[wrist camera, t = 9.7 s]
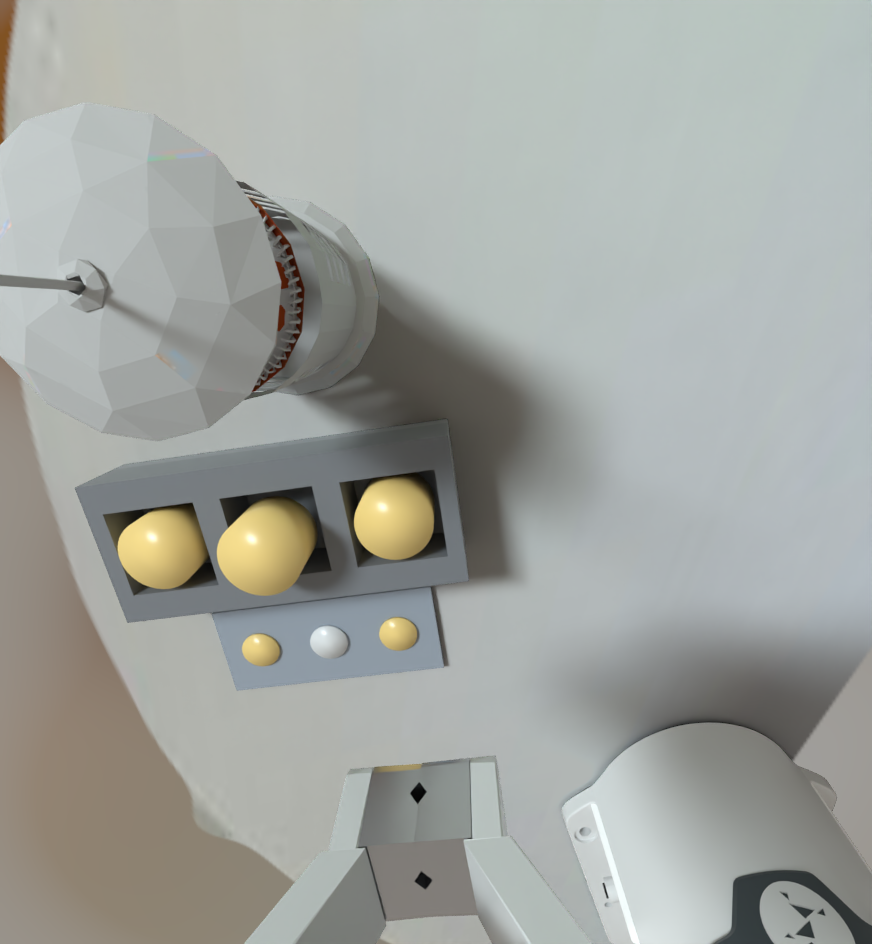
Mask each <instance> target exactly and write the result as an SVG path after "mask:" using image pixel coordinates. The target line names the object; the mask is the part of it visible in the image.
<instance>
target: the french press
mask: <svg viewBox="0 0 872 944" xmlns="http://www.w3.org/2000/svg"><path fill="white" fill-rule="evenodd" d="M241 188H243V189H248V190H252V191H256V192H258V193H260V192H259V191H257V190H256V189H254V188H252V187H251V186H249V185H247V184H246V183H243V182H239V181H235V179H234V178H233V177H232V175H231V174H230V173H229V171H228V170H227V169H226V167H225V166H224V165H223V163H222V162H221V160H220V159H219V158H218V156H217V155H215V154H214V153H212V152H211V151H209V150H208V149H206V148H205V147H203V146H202V145H200V144H199V143H197V142H196V141H194V140H193V139H191V138H190V137H188V136H187V135H185V134H184V133H182V132H181V131H179V130H177V129H176V128H174V127H173V126H171V125H170V124H168V123H167V122H165V121H164V120H162V119H161V118H159V117H158V116H156V115H155V114H149V113H144V112H138V111H133V110H127V109H122V108H117V107H111V106H106V105H100V104H95V103H90V102H84V103H81V104H77V105H74V106H71V107H67V108H64V109H61V110H57V111H54V112H50V113H47V114H44V115H40V116H37V117H34V118H30V119H27V120H24V121H23V122H22V123H21V124H20V125H19V126H18V128H17V129H16V130H15V131H14V132H13V133H12V134H11V135H10V136H9V137H8V138H7V139H6V140H5V141H4V142H3V143H2V144H1V145H0V355H1V357H2V358H3V359H4V360H5V361H6V362H7V363H8V364H9V365H10V366H11V367H12V368H13V369H14V370H15V371H16V372H17V373H18V374H19V375H20V376H21V378H22V379H23V380H24V381H25V382H26V383H27V384H28V385H29V386H30V387H31V388H32V389H33V390H34V391H35V392H36V393H37V394H38V395H39V396H40V397H41V398H42V399H43V400H44V401H45V402H46V403H47V404H48V405H50V406H52V407H54V408H56V409H58V410H60V411H62V412H63V413H65V414H67V415H69V416H71V417H73V418H75V419H76V420H78V421H80V422H82V423H84V424H86V425H88V426H90V427H91V428H93V429H95V430H97V431H99V432H101V433H106V434H113V435H119V436H126V437H132V438H139V439H146V440H152V441H161V440H165V439H169V438H173V437H176V436H180V435H184V434H188V433H191V432H195V431H199V430H203V429H207V428H209V427H210V426H212V425H213V424H214V423H215V422H217V421H218V420H219V419H220V418H222V417H223V416H224V415H225V414H227V413H228V412H229V411H230V410H232V409H233V408H234V407H235V406H237V405H238V404H239V403H240V402H242V401H243V400H246V399H250V398H254V397H258V396H262V395H266V394H269V393H273V392H281V393H287V394H294V395H301V394H305V393H309V392H313V391H316V390H320V389H324V388H328V387H332V386H333V385H334V384H335V383H337V382H338V381H339V380H340V379H342V378H343V377H344V376H346V375H347V374H348V373H349V372H351V371H352V370H353V369H355V368H356V367H357V366H358V365H359V363H360V361H361V359H362V358H363V356H364V354H365V352H366V350H367V348H368V347H369V345H370V343H371V341H372V339H373V337H374V335H375V331H376V321H377V312H378V303H379V294H378V290H377V287H376V283H375V279H374V275H373V272H372V268H371V264H370V260H369V257H368V256H367V255H366V253H365V252H364V250H363V249H362V248H361V246H360V245H359V243H358V242H357V241H356V239H355V238H354V237H353V235H352V234H351V232H350V231H349V230H348V228H347V227H346V225H345V224H343V223H342V222H340V221H339V220H337V219H336V218H334V217H332V216H331V215H329V214H328V213H326V212H325V211H323V210H322V209H320V208H318V207H317V206H315V205H314V204H312V203H311V202H305V201H299V200H293V199H287V198H281V197H274V196H270V197H266V196H265V195H263V194H262V193H260V194H258V193H254V192H250V191H245V190H242V189H241ZM246 194H249V195H253V196H258V197H262V198H263V199H259V198H255V197H251V196H246ZM253 200H254V201H253ZM265 390H268V391H265ZM254 391H264V392H254Z"/></svg>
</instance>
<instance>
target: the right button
mask: <svg viewBox="0 0 872 944" xmlns="http://www.w3.org/2000/svg"><path fill="white" fill-rule="evenodd" d="M434 508H435V499H434V494H433V491H432V488H431V487H430V485H429V483H428V482H427V481H426V480H425V479H424V478H423V477H422V476H421V475H419V474H418V473H416V472H412V473H405V474H398V475H390V476H383V477H375V478H372V480H371V481H370V482H369V483H368V485H367V487H366V489H365V491H364V494H363V496H362V498H361V500H360V502H359V505H358V507H357V509H356V512H355V516H354V528H355V532H356V535H357V537H358V539H359V541H360V542H361V544H362V545H363V546H364V547H365V548H366V549H367V550H368V551H370V552H371V553H373V554H374V555H376V556H379V557H381V558H384V559H390V560H401V559H406V558H409V557H412V556H414V555H416V554H417V553H419V552H420V551H421V550H423V549H424V547H425V546H426V545H427V544H428V542H429V541H430V539H431V536H432V533H433V529H434Z"/></svg>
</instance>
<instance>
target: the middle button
mask: <svg viewBox="0 0 872 944" xmlns="http://www.w3.org/2000/svg"><path fill="white" fill-rule="evenodd" d="M317 538H318V531H317V526H316V522H315V520H314V518H313V516H312V515H311V513H310V512H309V511H308V510H307V509H306V508H305V507H304V506H303V505H301V504H300V503H298V502H297V501H295V500H293V499H290V498H287V497H282V496H270V497H265V498H262V499H260V500H258V501H256V502H255V503H253V504H252V505H251V506H250V507H249V508H248V509H247V510H246V511H245V512H244V513H243V514H242V515H241V516H240V517H239V518H238V519H237V520H236V521H235V522H234V523H233V524H232V525H231V526H230V527H229V528H228V529H227V530H226V531H225V532H224V533H223V535H222V536H221V538H220V540H219V543H218V547H217V560H218V564H219V566H220V569H221V571H222V572H223V574H224V575H225V577H226V578H227V579H228V580H229V581H230V582H231V583H232V584H233V585H234V586H236V587H237V588H239V589H241V590H242V591H245V592H247V593H250V594H254V595H259V596H269V595H275V594H278V593H281V592H283V591H285V590H287V589H288V588H290V587H291V586H292V585H293V584H294V583H295V582H296V580H297V579H298V577H299V575H300V573H301V572H302V570H303V568H304V566H305V564H306V563H307V561H308V559H309V557H310V555H311V554H312V552H313V550H314V548H315V546H316V543H317Z"/></svg>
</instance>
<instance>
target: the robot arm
mask: <svg viewBox="0 0 872 944" xmlns="http://www.w3.org/2000/svg"><path fill="white" fill-rule="evenodd" d="M836 799H837V797H836V794H835V792H834V791H833V789H832V788H831V786H830V784H829V783H828V782H827V780H826V779H825V778H823V777H822V776H820V775H818V774H816V773H814V772H812V771H809V770H807V769H804V768H802V767H799V766H797V765H796V764H795V763H794V762H793V761H792V760H791V759H790V758H789V757H788V756H787V755H786V753H785V752H784V751H783V750H782V749H781V748H780V747H779V746H778V745H777V744H776V743H774V742H773V741H772V740H770V739H769V738H767V737H766V736H764V735H762V734H760V733H758V732H756V731H753V730H751V729H748V728H745V727H741V726H737V725H732V724H725V723H694V724H686V725H681V726H677V727H672V728H669V729H666V730H663V731H660V732H657V733H655V734H652V735H650V736H648V737H646V738H644V739H642V740H640V741H638V742H637V743H635V744H633V745H632V746H630V747H629V748H627V749H626V750H625V751H624V752H622V753H621V754H620V755H619V756H618V757H617V758H616V759H615V760H614V761H613V762H612V763H611V764H610V765H609V766H608V767H607V769H606V770H605V771H604V773H603V774H602V775H601V776H600V778H599V779H598V780H597V781H596V782H595V783H594V784H593V785H592V786H591V787H589V788H587V789H586V790H584V791H582V792H581V793H579V794H577V795H576V796H574V797H573V798H571V799H570V800H569V801H567V802H566V803H565V804H564V806H563V808H562V816H563V819H564V822H565V824H566V827H567V830H568V833H569V835H570V838H571V841H572V843H573V846H574V849H575V852H576V854H577V857H578V860H579V862H580V865H581V868H582V870H583V873H584V876H585V878H586V881H587V884H588V887H589V889H590V892H591V895H592V897H593V900H594V903H595V905H596V908H597V911H598V913H599V916H600V919H601V922H602V924H603V927H604V930H605V932H606V935H607V937H608V939H609V941H610V942H611V943H613V944H872V871H871V869H870V867H869V866H868V865H867V863H866V862H865V860H864V859H863V857H862V856H861V854H860V853H859V851H858V850H857V848H856V847H855V845H854V844H853V843H852V841H851V839H850V838H849V836H848V835H847V833H846V832H845V831H844V829H843V828H842V826H841V825H840V823H839V822H838V820H837V819H836V817H835V816H834V815H833V813H832V811H833V808H834V806H835V803H836ZM464 915H478V917H479V919H480V921H481V923H482V925H483V927H484V929H485V931H486V933H487V935H488V936H489V938H490V940H491V942H492V944H593V943H592V942H591V941H590V940H589V938H588V937H587V936H586V934H585V933H584V932H583V930H582V929H581V928H580V926H579V925H578V924H577V922H576V921H575V920H574V918H573V917H572V916H571V914H570V913H569V912H568V910H567V909H566V908H565V906H564V905H563V904H562V902H561V901H560V900H559V899H558V897H557V896H556V895H555V893H554V892H553V891H552V889H551V888H550V887H549V885H548V884H547V883H546V881H545V880H544V879H543V877H542V876H541V875H540V873H539V872H538V871H537V869H536V868H535V867H534V865H533V864H532V863H531V861H530V860H529V859H528V858H527V856H526V855H525V854H524V852H523V851H522V850H521V848H520V847H519V846H518V844H517V843H516V842H515V840H514V839H513V838H512V836H508V832H507V825H506V818H505V811H504V804H503V797H502V791H501V784H500V778H499V771H498V765H497V759H496V756H486V757H477V758H471V759H470V758H465V759H456V760H447V761H437V762H428V763H422V764H412V765H397V766H382V767H373V768H359V769H350V771H349V773H348V774H347V776H346V780H345V784H344V788H343V792H342V796H341V800H340V804H339V808H338V813H337V817H336V821H335V825H334V829H333V833H332V837H331V841H330V846H329V850H328V851H321V852H320V853H319V854H318V855H317V857H316V858H315V859H314V860H313V861H312V863H311V864H310V865H309V866H308V867H307V869H306V870H305V871H304V872H303V873H302V875H301V876H300V877H299V878H298V879H297V881H296V882H295V883H294V884H293V885H292V887H291V888H290V889H289V890H288V892H287V893H286V894H285V895H284V896H283V897H282V899H281V900H280V901H279V902H278V904H277V905H276V906H275V907H274V908H273V909H272V911H271V912H270V913H269V914H268V915H267V917H266V918H265V919H264V920H263V922H262V923H261V924H260V925H259V926H258V927H257V929H256V930H255V931H254V932H253V934H252V935H251V936H250V937H249V938H248V940H247V941H246V942H245V943H244V944H376V943H377V941H378V939H379V938H380V936H381V934H382V932H383V930H384V928H385V926H386V922H385V921H395V920H404V919H414V918H423V917H436V916H464Z"/></svg>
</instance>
